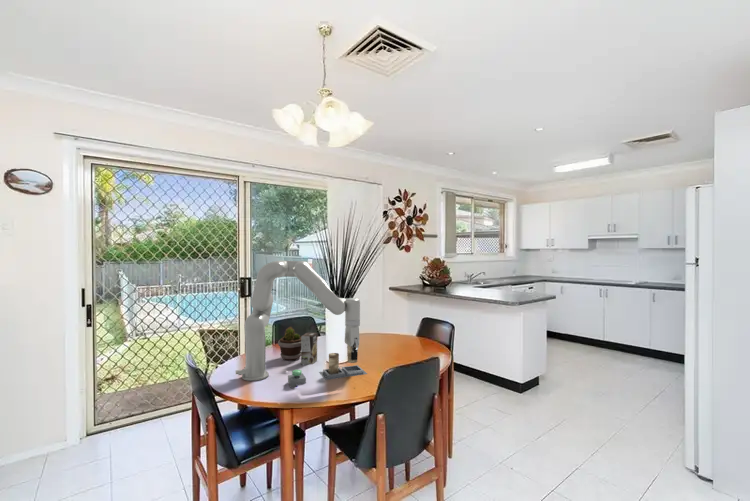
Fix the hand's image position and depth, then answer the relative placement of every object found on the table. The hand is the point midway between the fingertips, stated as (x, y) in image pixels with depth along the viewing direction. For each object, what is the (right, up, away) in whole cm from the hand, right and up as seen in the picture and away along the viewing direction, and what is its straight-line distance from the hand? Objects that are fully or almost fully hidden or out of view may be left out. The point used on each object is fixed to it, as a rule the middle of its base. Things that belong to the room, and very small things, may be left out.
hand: (352, 357), depth 185 cm
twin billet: (-9, -7, -4) cm, 12 cm away
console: (-25, -8, -14) cm, 30 cm away
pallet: (-4, -8, -2) cm, 10 cm away
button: (-25, -6, -14) cm, 30 cm away
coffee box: (-25, -8, +18) cm, 32 cm away
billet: (0, -2, 0) cm, 2 cm away
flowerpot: (-37, -8, +26) cm, 47 cm away
